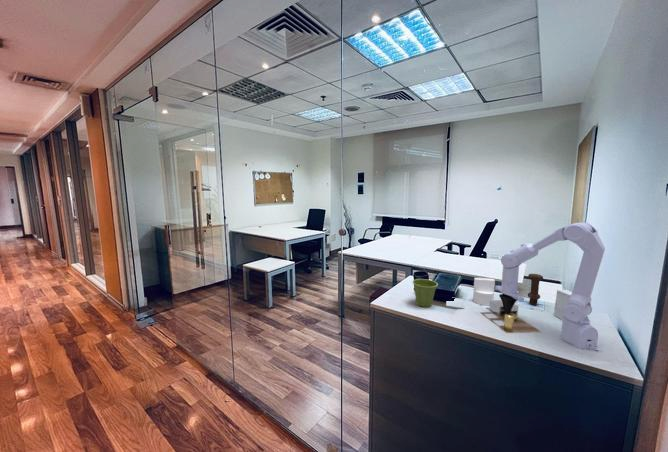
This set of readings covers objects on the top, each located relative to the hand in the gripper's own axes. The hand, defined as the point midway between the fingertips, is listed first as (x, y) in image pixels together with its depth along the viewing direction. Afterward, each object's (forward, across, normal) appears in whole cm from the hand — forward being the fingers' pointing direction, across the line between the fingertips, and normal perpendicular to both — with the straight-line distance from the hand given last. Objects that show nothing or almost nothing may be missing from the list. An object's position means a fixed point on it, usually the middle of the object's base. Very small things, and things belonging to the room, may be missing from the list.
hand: (507, 311), depth 116 cm
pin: (+3, -10, +8) cm, 13 cm away
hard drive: (+4, +18, +14) cm, 23 cm away
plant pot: (+4, +19, +29) cm, 35 cm away
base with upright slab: (+4, +19, -2) cm, 20 cm away
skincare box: (+4, -1, -26) cm, 26 cm away
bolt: (+4, +14, -25) cm, 29 cm away
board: (+4, -1, +2) cm, 4 cm away
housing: (+2, +5, -2) cm, 5 cm away
